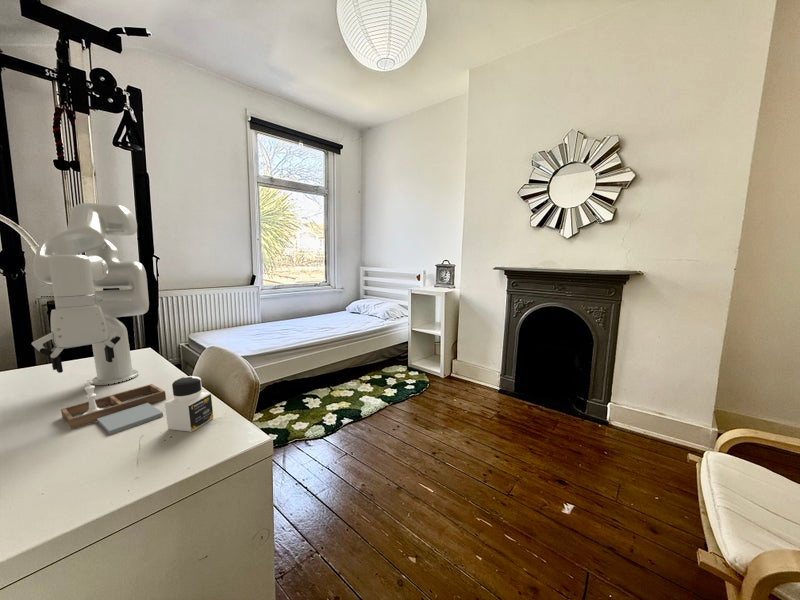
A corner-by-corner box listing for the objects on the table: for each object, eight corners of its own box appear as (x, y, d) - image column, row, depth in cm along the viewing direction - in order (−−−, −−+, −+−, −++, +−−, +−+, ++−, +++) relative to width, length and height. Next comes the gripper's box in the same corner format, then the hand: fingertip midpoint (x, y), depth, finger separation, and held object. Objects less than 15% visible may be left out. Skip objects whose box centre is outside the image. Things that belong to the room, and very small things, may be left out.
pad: (97, 422, 84) (96, 418, 84) (148, 405, 93) (147, 402, 93) (109, 434, 78) (109, 431, 78) (163, 416, 87) (162, 412, 87)
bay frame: (62, 417, 87) (60, 409, 87) (152, 391, 103) (151, 383, 103) (71, 429, 81) (69, 420, 81) (166, 399, 97) (165, 391, 97)
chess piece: (76, 419, 86) (70, 383, 85) (95, 410, 91) (90, 376, 90) (92, 420, 85) (86, 384, 84) (111, 411, 90) (105, 377, 89)
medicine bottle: (191, 432, 78) (186, 385, 77) (167, 429, 80) (161, 383, 78) (214, 418, 85) (209, 374, 84) (191, 415, 87) (186, 373, 85)
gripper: (114, 298, 93) (122, 356, 95) (23, 306, 79) (34, 373, 81) (123, 299, 89) (131, 360, 91) (28, 307, 75) (40, 379, 77)
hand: (85, 366), depth 86 cm, fingers open, 9 cm apart
